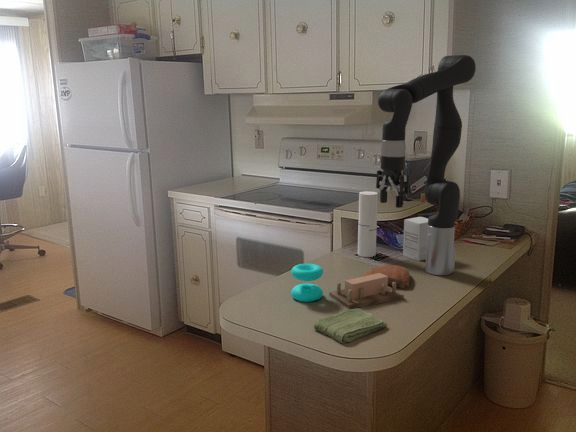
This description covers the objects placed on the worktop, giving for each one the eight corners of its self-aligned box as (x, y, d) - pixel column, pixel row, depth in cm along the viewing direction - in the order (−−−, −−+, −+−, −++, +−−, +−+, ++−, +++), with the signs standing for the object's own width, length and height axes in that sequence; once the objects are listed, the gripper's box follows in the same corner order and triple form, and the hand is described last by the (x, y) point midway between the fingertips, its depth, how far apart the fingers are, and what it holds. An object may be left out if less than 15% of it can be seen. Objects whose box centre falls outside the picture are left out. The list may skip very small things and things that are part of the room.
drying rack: (381, 286, 182) (382, 272, 181) (403, 298, 171) (404, 284, 170) (329, 295, 174) (329, 281, 172) (348, 308, 163) (349, 294, 162)
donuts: (297, 260, 177) (326, 264, 173) (297, 289, 179) (326, 293, 175) (286, 270, 167) (317, 273, 164) (286, 300, 170) (317, 304, 166)
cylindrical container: (357, 251, 221) (359, 191, 215) (375, 252, 220) (377, 191, 214) (357, 256, 214) (359, 194, 208) (375, 257, 213) (377, 194, 207)
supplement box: (418, 252, 220) (420, 216, 217) (435, 257, 213) (437, 220, 209) (401, 255, 215) (403, 218, 212) (418, 261, 208) (420, 223, 205)
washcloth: (389, 328, 150) (389, 318, 149) (343, 347, 140) (343, 335, 139) (355, 314, 160) (355, 303, 159) (310, 330, 150) (310, 319, 149)
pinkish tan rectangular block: (379, 287, 177) (379, 272, 176) (387, 291, 174) (387, 276, 173) (344, 295, 170) (344, 280, 169) (352, 299, 167) (352, 284, 166)
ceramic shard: (367, 258, 195) (409, 266, 193) (364, 275, 196) (406, 284, 193) (366, 266, 181) (411, 275, 178) (362, 284, 182) (407, 293, 179)
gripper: (416, 156, 165) (414, 208, 169) (389, 151, 178) (388, 200, 182) (396, 157, 162) (394, 210, 166) (370, 152, 175) (369, 202, 179)
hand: (391, 204), depth 174 cm, fingers open, 8 cm apart
